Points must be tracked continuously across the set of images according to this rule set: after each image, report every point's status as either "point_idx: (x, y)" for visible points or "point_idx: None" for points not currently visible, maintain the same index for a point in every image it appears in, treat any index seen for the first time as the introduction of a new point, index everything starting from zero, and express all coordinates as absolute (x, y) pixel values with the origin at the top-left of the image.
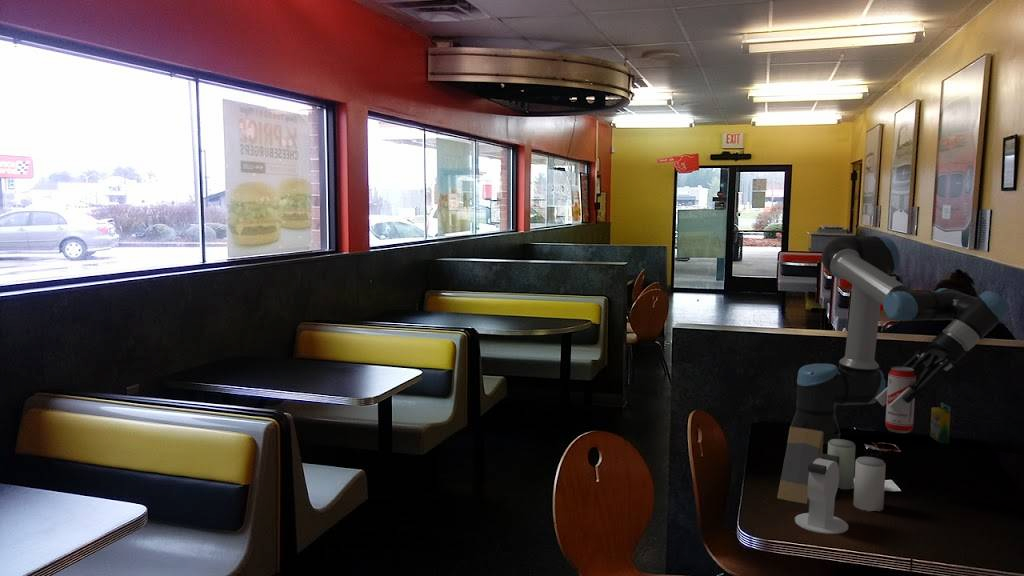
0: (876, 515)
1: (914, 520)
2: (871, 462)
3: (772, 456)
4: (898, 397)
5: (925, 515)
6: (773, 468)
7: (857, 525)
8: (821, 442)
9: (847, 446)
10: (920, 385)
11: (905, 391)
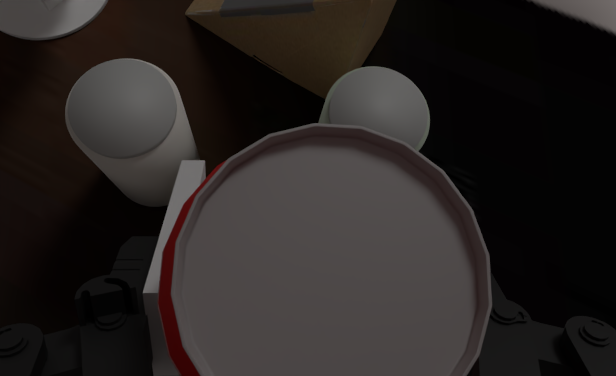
0: (84, 154)
1: (31, 249)
2: (97, 97)
3: (608, 77)
4: (178, 206)
5: (67, 309)
6: (489, 35)
7: (18, 65)
8: (334, 6)
9: (328, 113)
10: (7, 357)
11: (158, 254)
